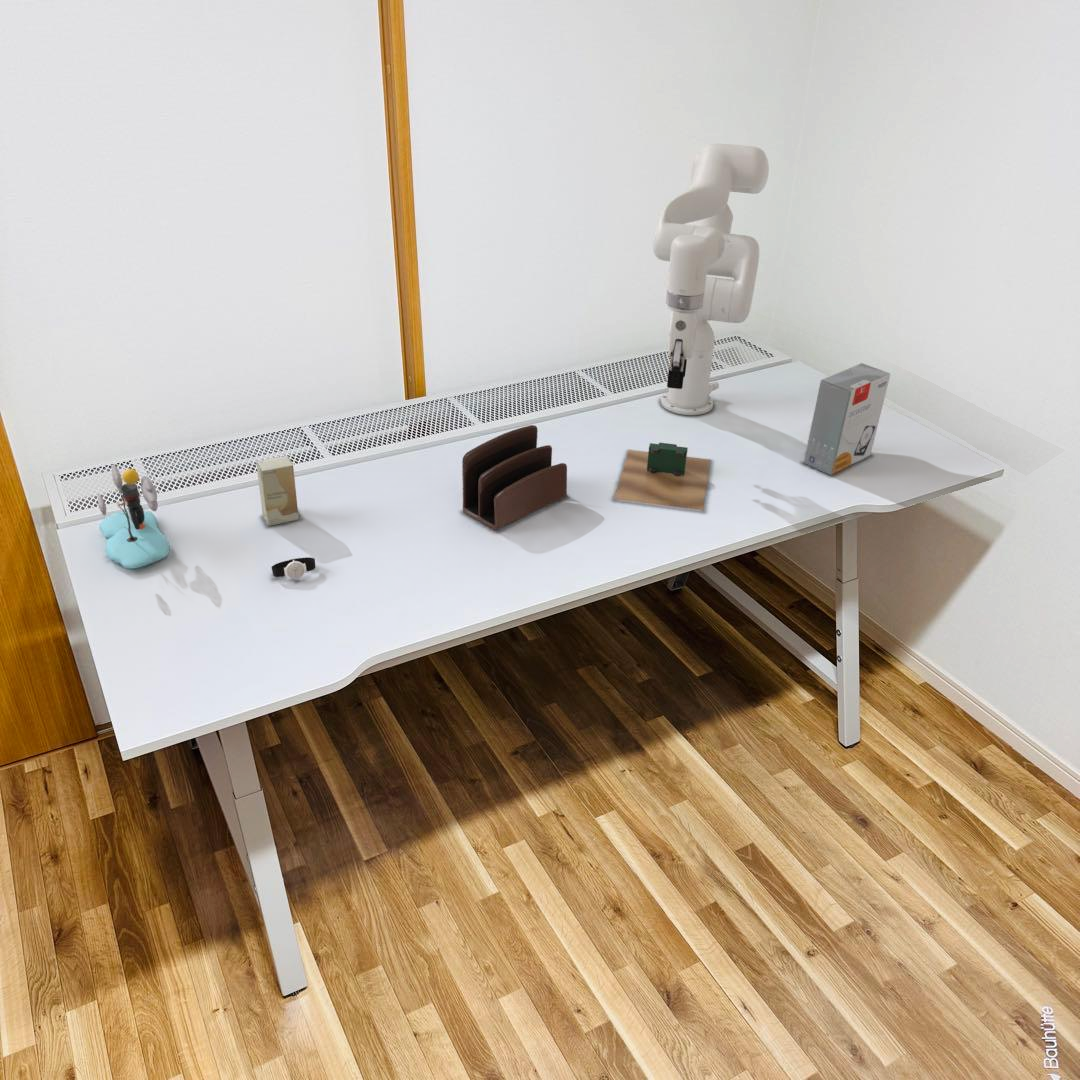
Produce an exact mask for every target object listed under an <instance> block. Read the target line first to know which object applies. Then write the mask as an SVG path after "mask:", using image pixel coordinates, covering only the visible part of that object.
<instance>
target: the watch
mask: <svg viewBox="0 0 1080 1080" xmlns="http://www.w3.org/2000/svg"><path fill="white" fill-rule="evenodd" d="M315 569H316V559H315V558H314V557H310V556H309V557H307V556H306V557H298V558H292V559H288V560H284V561H280V562H277V563H275V564H273V565H272V566H271V572H272V576H273V577H274V578H284V577H286V578H290V579H292V580H298V579H300V578H302V577H303V576H304V574H305V573H307V572H308V573H309V572H312V571H314V570H315Z"/></svg>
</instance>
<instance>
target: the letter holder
mask: <svg viewBox="0 0 1080 1080" xmlns="http://www.w3.org/2000/svg"><path fill="white" fill-rule="evenodd" d="M538 431H539V430H538V426H537V425H534V424H531V425H530V424H529V425H527V426H522V427H519V428H515V429H513V430H510V431H507V432H504V433H502V434H500V435H498V436H496V437H493V438H491V439H489V440H487V441H485V442H483V443H481V444H479V445H478V446H476V447H474V448H472V449H470V450H469V451H467V452H466V453H465V454H464V455H463V457H462V463H461V464H462V466H461V468H462V471H461V472H462V476H461V477H462V512H463V514H466V515H468V516H470V517H471V518H473V519H475V520H476V521H478V522H480V523H481V524H483V525H485V526H486V527H488V528H490V529H492V530H493V531H499V530H500V529H503V528H504V527H506V526H508V525H511V524H513V523H516V522H517V521H518V520H520V519H522V518H525V517H527V516H529V515H531V514H533V513H535V512H537V511H539V510H541V509H544V508H546V507H547V506H549V505H551V504H554V503H556V502H557V501H559V500H561V499H564V498H565V497H567V496H568V466H567V463H565V462H561V463H558V464H554V465H553V463H552V462H553V461H552V459H553V447H552V446H551V445H550V444H549V445H542V446H539V447H538Z"/></svg>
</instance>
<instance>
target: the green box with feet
mask: <svg viewBox="0 0 1080 1080" xmlns="http://www.w3.org/2000/svg"><path fill="white" fill-rule="evenodd" d="M688 450H689V449H688V447H685V446H678V445H677V444H676V443H667V442H658V443H652V442H650V443H649V446H648V451H647V452H648V463H647V470H648V471H649V472H651V473H657V472H665V473H673V474H674V475H675V476H681V475H684V473H685V466H686V457H688Z"/></svg>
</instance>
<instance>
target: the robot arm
mask: <svg viewBox="0 0 1080 1080" xmlns="http://www.w3.org/2000/svg"><path fill="white" fill-rule="evenodd" d="M769 170H770V167H769V159H768V157H767V155H766V153H765V151H764V150H763V149H761V148H760V147H758V146H752V145H742V144H731V143H713V144H709V145H707V146H705V147H703V149H702V150H701V151H700V152H698V153H697V154H695V156H694V157H693V159H692V160H691V166H690V186H689V189H687V190H685V191H683V192H681V193H680V194H678V195H677V196H675V197H674V198H673V199H671V200H670V201H669V202H668V203H667V204H666V205H665V206H664V207H663V209H662V210H661V212H660V215H659V218H658V220H657V224H656V227H655V231H654V235H653V239H652V251H653V254H654V256H655V257H656V258H657V259H658V260H661V261H664V262H669V267H668V277H667V278H668V279H667V288H666V298H665V307H666V308H667V309H669V310H670V317H669V326H668V327H669V328H668V342H667V343H668V344H667V356H668V357H669V358H670V363H669V364H670V365H669V368H668V372H667V382H666V387H667V388H668V390H667V392H665V393H663V395H662V396H661V398H660V404H661V406H662V407H663V408H664V409H666V410H667V411H669V412H671V413H674V414H677V415H683V416H699V415H703V414H704V415H705V414H706V413H708V412H710V411H712V409H713V407H714V401H713V399H712V398H711V397H710V394H711V393H712V392H713V391H716V390H718V389H719V388H720V384H719V382H718V381H712V382H711V383H710V379H711V374H712V373H711V372H712V364H713V356H714V350H715V349H714V348H715V340H716V339H715V332H714V330H713V329H712V326H711V324H710V323H709V322H712V321H714V322H720V323H731V324H741V323H743V322H745V321H746V320H747V319H748V318H749V314H750V312H751V308H752V303H753V299H754V298H753V297H754V292H755V286H756V280H757V274H758V269H759V263H760V262H759V261H760V244H759V242H758V240H756V239H755V238H754V237H752V236H750V235H744V234H736V233H731V232H732V231H731V230H732V226H733V225H732V224H733V220H734V215H733V212H732V209H731V207H730V205H729V204H728V201H729V198H730V194H731V193H742V194H751V195H752V194H753V195H755V194H756V195H758V194H759V193H761V192H762V191H763V190H764V189H765V187H766V185H767V182H768V179H769ZM693 222H694V224H690V223H693ZM721 277H724V278H721Z"/></svg>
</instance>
